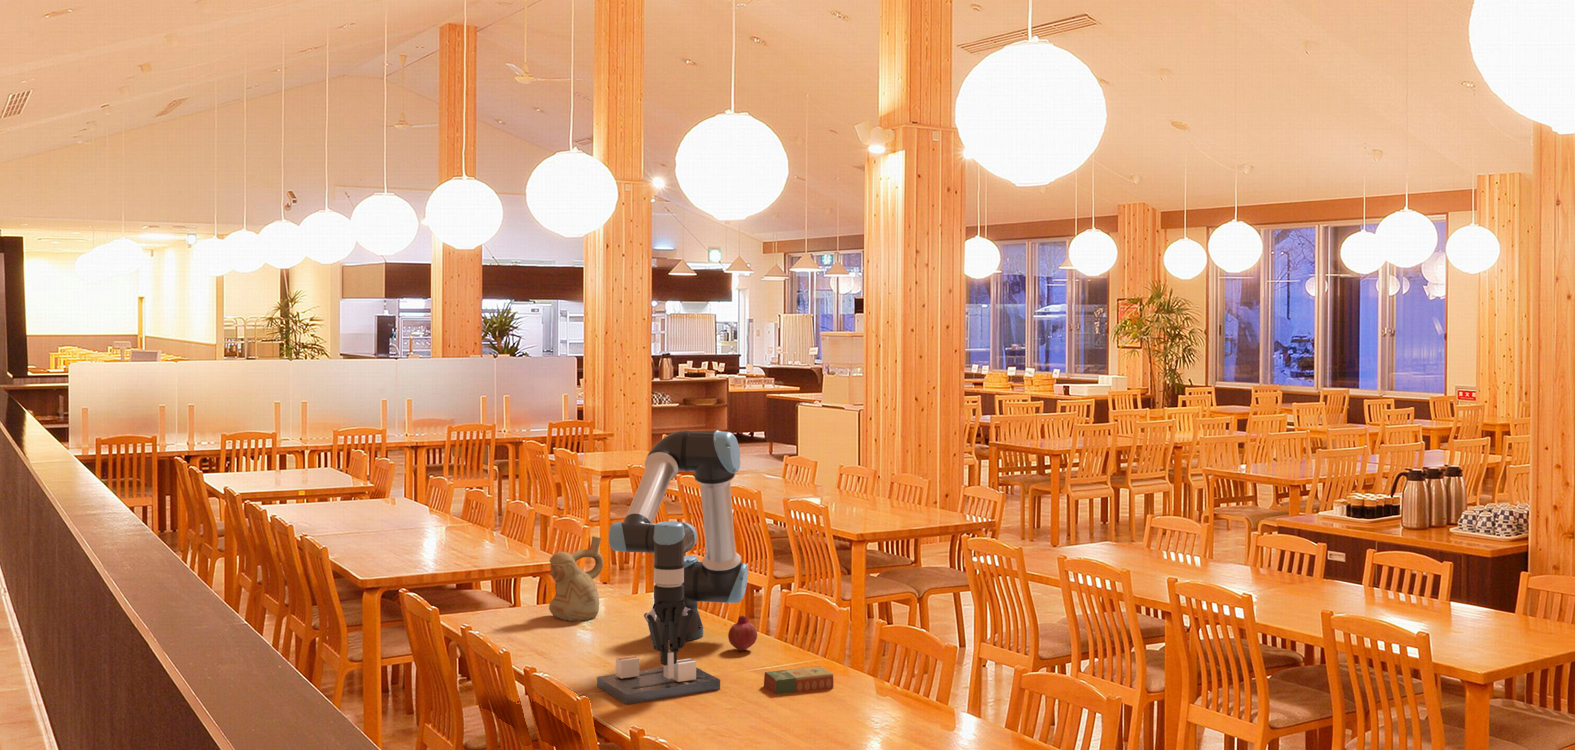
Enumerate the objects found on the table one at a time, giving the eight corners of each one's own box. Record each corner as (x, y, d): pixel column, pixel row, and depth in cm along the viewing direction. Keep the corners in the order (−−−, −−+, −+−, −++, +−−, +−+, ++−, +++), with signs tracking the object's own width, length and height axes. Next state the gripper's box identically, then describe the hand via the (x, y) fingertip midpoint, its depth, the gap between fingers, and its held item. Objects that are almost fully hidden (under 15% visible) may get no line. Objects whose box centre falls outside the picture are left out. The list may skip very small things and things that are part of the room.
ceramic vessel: (536, 617, 402) (535, 538, 401) (588, 608, 415) (588, 532, 414) (565, 626, 389) (565, 545, 388) (618, 617, 403) (618, 538, 402)
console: (687, 672, 339) (688, 662, 339) (720, 689, 324) (720, 679, 323) (597, 686, 325) (597, 676, 325) (626, 704, 310) (626, 693, 310)
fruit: (734, 655, 357) (734, 619, 357) (724, 648, 364) (724, 613, 364) (761, 652, 360) (761, 617, 360) (750, 645, 368) (750, 611, 367)
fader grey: (689, 675, 325) (689, 657, 325) (696, 679, 322) (696, 660, 322) (672, 678, 323) (672, 660, 323) (678, 681, 320) (678, 663, 320)
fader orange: (633, 672, 328) (633, 654, 328) (639, 675, 325) (639, 657, 325) (615, 675, 325) (615, 657, 325) (621, 678, 322) (621, 660, 322)
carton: (833, 689, 325) (834, 673, 325) (775, 696, 319) (775, 679, 319) (820, 681, 333) (821, 664, 333) (763, 687, 327) (763, 670, 327)
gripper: (685, 579, 326) (685, 670, 327) (638, 584, 319) (638, 677, 320) (698, 584, 320) (698, 677, 320) (651, 589, 313) (651, 684, 314)
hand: (668, 677), depth 320 cm, fingers closed
